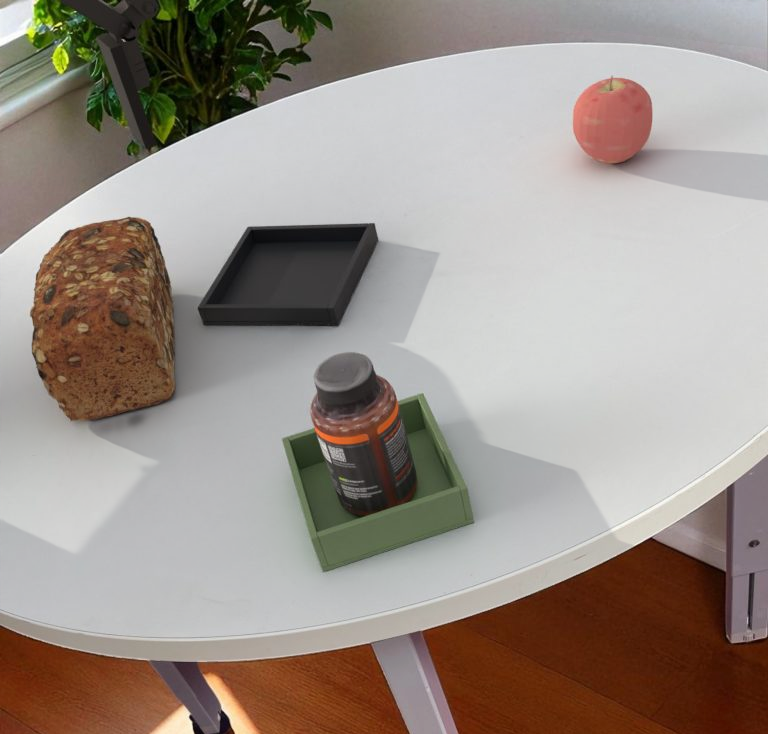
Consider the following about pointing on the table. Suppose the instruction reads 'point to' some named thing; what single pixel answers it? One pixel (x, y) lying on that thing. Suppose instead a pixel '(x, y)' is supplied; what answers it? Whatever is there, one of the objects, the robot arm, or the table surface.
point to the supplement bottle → (362, 435)
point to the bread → (104, 320)
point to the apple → (613, 119)
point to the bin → (391, 526)
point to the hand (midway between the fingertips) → (47, 181)
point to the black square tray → (290, 275)
